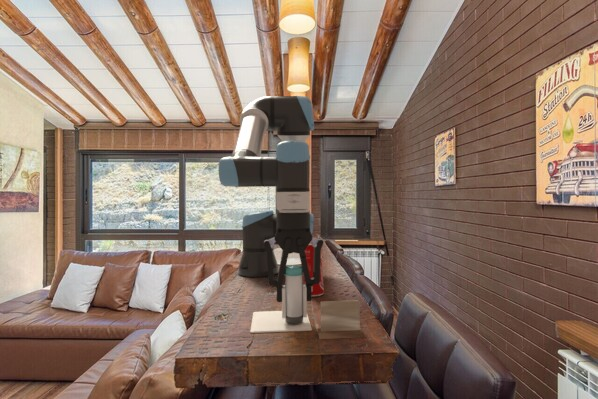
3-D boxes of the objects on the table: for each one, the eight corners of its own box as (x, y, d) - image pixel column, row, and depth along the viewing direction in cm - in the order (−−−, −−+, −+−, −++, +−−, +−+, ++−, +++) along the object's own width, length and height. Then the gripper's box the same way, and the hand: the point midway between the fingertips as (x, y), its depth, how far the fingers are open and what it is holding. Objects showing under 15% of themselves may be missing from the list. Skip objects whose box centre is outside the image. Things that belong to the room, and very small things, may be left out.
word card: (317, 333, 69) (317, 299, 69) (359, 331, 69) (359, 298, 69) (319, 339, 66) (319, 304, 66) (363, 337, 66) (363, 302, 66)
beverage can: (322, 297, 93) (322, 244, 93) (300, 296, 94) (299, 244, 94) (325, 292, 98) (324, 242, 98) (303, 290, 100) (303, 241, 100)
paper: (253, 313, 81) (253, 311, 81) (306, 311, 82) (306, 309, 82) (250, 333, 69) (250, 331, 69) (311, 330, 70) (311, 329, 70)
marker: (284, 317, 75) (284, 265, 75) (302, 317, 76) (302, 265, 76) (285, 324, 71) (285, 269, 71) (304, 323, 72) (303, 268, 72)
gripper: (254, 212, 69) (255, 323, 69) (333, 211, 71) (334, 320, 71) (255, 211, 77) (256, 311, 77) (327, 210, 78) (328, 308, 78)
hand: (294, 315), depth 74 cm, fingers closed on marker, 4 cm apart
